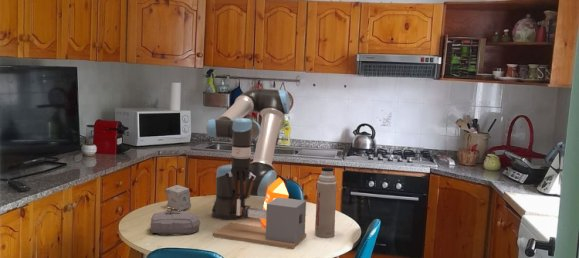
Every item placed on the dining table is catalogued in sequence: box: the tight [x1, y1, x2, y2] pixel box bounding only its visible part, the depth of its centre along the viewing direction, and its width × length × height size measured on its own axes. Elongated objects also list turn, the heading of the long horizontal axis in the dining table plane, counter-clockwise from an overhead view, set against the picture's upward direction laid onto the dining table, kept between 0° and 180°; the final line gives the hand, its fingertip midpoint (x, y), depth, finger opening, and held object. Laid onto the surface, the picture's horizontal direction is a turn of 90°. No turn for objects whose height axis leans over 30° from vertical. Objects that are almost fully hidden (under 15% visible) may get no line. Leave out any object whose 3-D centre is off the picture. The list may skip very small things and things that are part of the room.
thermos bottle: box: [314, 166, 338, 239], centre depth 217 cm, size 8×8×28 cm
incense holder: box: [164, 184, 192, 211], centre depth 249 cm, size 10×8×10 cm
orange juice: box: [259, 178, 290, 227], centre depth 228 cm, size 8×9×20 cm
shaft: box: [242, 204, 266, 219], centre depth 211 cm, size 18×5×5 cm, turn 70°
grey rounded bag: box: [150, 209, 201, 235], centre depth 217 cm, size 15×8×20 cm
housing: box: [212, 197, 307, 250], centre depth 212 cm, size 34×16×16 cm, turn 70°
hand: (239, 214), depth 215 cm, fingers closed
